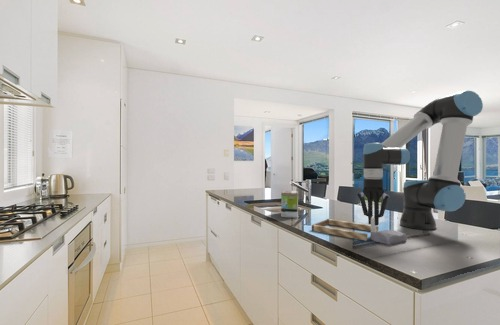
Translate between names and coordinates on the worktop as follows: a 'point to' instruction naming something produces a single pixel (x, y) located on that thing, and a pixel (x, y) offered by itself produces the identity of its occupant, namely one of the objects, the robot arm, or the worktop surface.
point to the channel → (351, 234)
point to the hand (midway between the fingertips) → (373, 232)
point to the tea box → (289, 204)
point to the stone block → (388, 237)
